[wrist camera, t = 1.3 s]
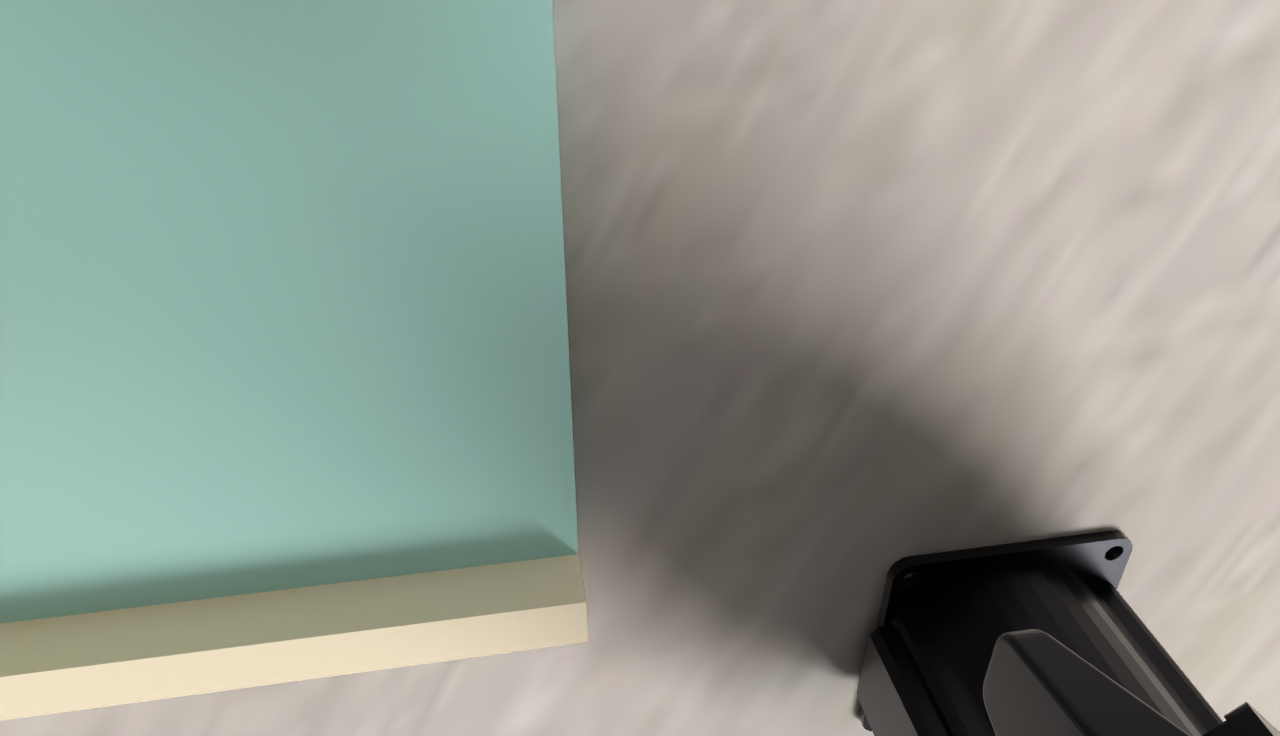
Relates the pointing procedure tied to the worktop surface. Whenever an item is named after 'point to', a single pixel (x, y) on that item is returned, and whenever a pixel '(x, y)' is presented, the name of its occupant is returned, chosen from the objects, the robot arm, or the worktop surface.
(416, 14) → the lane
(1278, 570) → the worktop surface
